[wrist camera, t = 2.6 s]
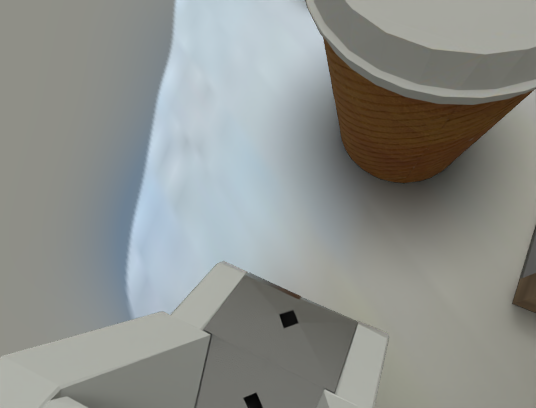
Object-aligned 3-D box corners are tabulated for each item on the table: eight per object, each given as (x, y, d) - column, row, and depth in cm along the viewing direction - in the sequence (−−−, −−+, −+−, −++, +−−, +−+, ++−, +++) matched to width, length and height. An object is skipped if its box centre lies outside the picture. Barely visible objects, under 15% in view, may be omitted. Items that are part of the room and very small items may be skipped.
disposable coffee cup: (359, 245, 22) (399, 130, 11) (281, 92, 26) (249, -120, 14) (535, 166, 23) (750, -25, 11) (436, 24, 26) (527, -236, 14)
